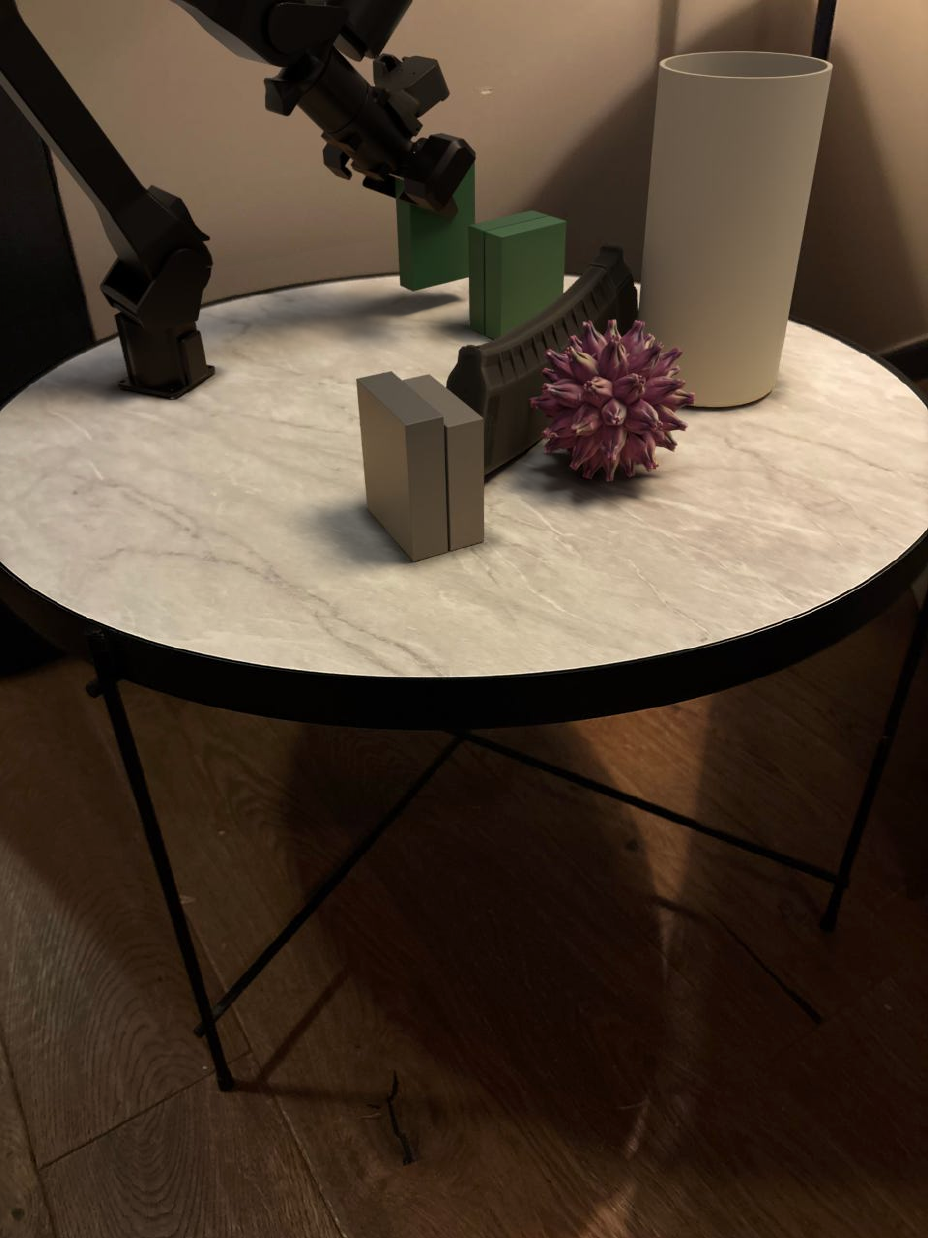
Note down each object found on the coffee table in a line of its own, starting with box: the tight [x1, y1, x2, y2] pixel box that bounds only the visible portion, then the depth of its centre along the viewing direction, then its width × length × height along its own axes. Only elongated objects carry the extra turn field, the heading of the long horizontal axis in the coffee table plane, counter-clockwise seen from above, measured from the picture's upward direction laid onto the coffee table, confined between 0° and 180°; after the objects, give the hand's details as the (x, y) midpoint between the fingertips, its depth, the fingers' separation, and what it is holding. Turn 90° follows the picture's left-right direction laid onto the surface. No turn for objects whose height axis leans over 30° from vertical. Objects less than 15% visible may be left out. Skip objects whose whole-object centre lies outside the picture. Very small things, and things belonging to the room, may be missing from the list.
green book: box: [395, 160, 476, 292], centre depth 102 cm, size 8×2×12 cm, turn 127°
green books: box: [468, 209, 567, 340], centre depth 99 cm, size 8×5×10 cm, turn 127°
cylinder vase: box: [637, 50, 834, 408], centre depth 83 cm, size 12×12×25 cm
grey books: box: [355, 370, 485, 563], centre depth 69 cm, size 8×5×10 cm
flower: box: [529, 319, 695, 482], centre depth 74 cm, size 12×12×12 cm
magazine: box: [445, 242, 639, 477], centre depth 81 cm, size 17×3×30 cm
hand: (447, 211), depth 102 cm, fingers closed on green book, 2 cm apart
